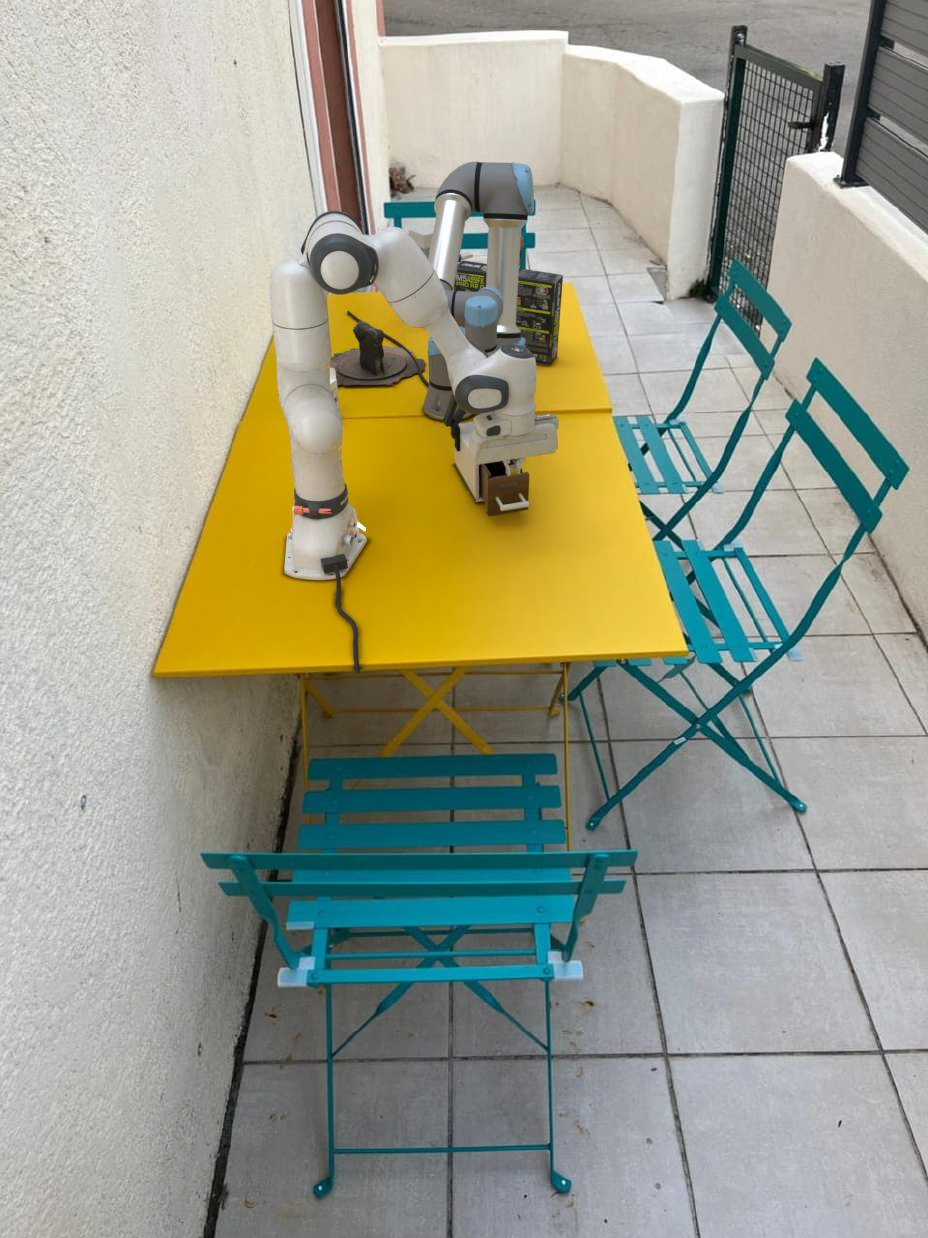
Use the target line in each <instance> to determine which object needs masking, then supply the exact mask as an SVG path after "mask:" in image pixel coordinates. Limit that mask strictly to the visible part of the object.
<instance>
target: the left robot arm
mask: <svg viewBox="0 0 928 1238" xmlns="http://www.w3.org/2000/svg"><path fill="white" fill-rule="evenodd" d="M300 253H301V256H299V257H294V258H291V257H290V258H287V259H283V260H281V261H280V262H278V263H277V264H276V265H275V266H274V267H273V269H272V270H271V274H270V283H269V284H270V285H269V305H270V306H269V307H270V308H269V309H270V317H271V325H272V327H271V328H272V333H273V340H274V341H273V342H274V348H275V349H274V350H275V356H276V377H277V378H276V380H277V393H278V401H279V406H280V407H281V410H282V413H283V416H284V418H285V421H286V425H287V429H288V433H289V440H290V441H289V442H290V455H291V457H290V463H291V471H292V477H293V483H294V489H293V504H294V505H293V506H292V508H291V510H292V523H291V524H292V526H291V527H290V530H289V532H288V533H287V535H286V543H285V555H284V574H285V575H287V576H289V577H292V578H295V579H300V580H310V581H330V580H335V583H336V585H335V586H336V589H335V590H336V592H335V593H336V594H335V602H334V603H335V604H334V605H335V608H336V610H337V612H338V613H339V615H340V616H341V617H342V618H344V619H345V620H346V621H347V622H348V623H349V624H350V626H351V629H352V634H353V635H352V656H353V667H354V673H355V674H360V672H361V668H360V660H359V658H360V657H359V630H358V628H359V627H358V625H357V623H356V622H355V620H354V619H353V618H352V617H351V616H350V615H349V614H348V613H347V612H345V611H344V610H343V607H342V606H341V598H342V597H341V596H342V580H341V579H342V578H343V577H345V576H346V575H347V573H348V572H349V571H350V569H351V567H352V566H353V564H354V563H355V561H356V559H357V558H358V557H359V556H360V553H361V552H362V551H363V549H364V548H365V546H366V544H367V542H368V539H367V536H366V535H365V534H363V533H361V532H360V529H361V530H363V531H364V532H366V530H367V529H366V527H365V526H363V524H361V523H360V522H359V520H358V514H357V510H356V508H354V506H352V505H351V503H350V502H349V489H348V486H347V483H346V482H345V474H344V464H343V463H344V462H343V441H344V440H343V439H344V437H343V436H344V435H343V434H344V423H343V416H342V412H341V409H340V410H339V408H338V406H337V404H336V402H335V399H334V397H333V394H332V391H331V387H330V360H331V358H332V357H333V353H332V341H331V331H330V330H331V329H330V319H329V308H328V294H332V295H338V296H339V295H348V294H351V293H353V292H355V291H357V290H361V289H363V288H367V287H370V286H372V285H373V284H375V285H376V287H377V288H378V290H379V291H380V293H381V294H382V296H383V297H384V299H385V301H386V302H387V304H388V306H390V308H391V309H392V310H393V313H395V314H396V315H397V317H398V318H399V319H400V320H401V321H402V322H403V323H404V324H405V325H406V326H407V327H409V328H413V329H424V330H425V331H426V333H427V334H428V336H429V337H431V338H432V340H433V341H434V343H435V344H436V346H437V347H438V349H439V350H440V352H441V353H442V355H443V356H444V359H445V368H446V373H447V376H448V379H449V381H450V383H451V387H452V390H453V394H454V397H455V400H456V403H457V404H458V406H459V407H460V408H461V409H462V410H463V411H465V412H467V413H470V414H473V415H475V417H473V422H474V425H475V428H474V429H473V431H472V433H471V436H470V443H469V456H470V459H471V460H472V462H473V463H474V464H476V465H479V464H486V463H492V462H499V461H502V462H503V463H504V465H505V466H506V474H507V475H508V476H510V475H516V474H520V468H521V469H522V467H523V465H524V464H525V462H526V458H530V457H537V456H544V455H551V454H554V453H556V452H557V450H558V449H559V437H558V431H557V430H558V429H559V425H560V420H559V417H558V416H557V415H555V414H553V413H547V414H538V415H537V414H536V401H535V394H536V392H537V382H538V379H537V377H538V375H537V374H538V373H537V371H538V370H537V364H536V361H535V357H534V355H533V354H532V353H531V352H530V351H529V350H528V349H527V348H524V347H522V346H519V345H515V344H508V345H503V346H501V347H500V349H499V350H498V351H497V352H496V353H494V354H493V355H491V356H490V357H489V356H488V355H487V353H486V352H485V351H484V350H483V349H481V348H480V347H479V346H477V345H475V344H474V343H472V342H471V341H470V340H469V339H467V337H466V336H465V334H464V333H463V331H462V330H461V328H460V327H459V325H458V324H457V322H456V320H455V319H454V317H453V316H452V314H451V313H450V310H449V308H448V298H447V295H446V292H445V290H444V287H443V285H442V283H441V281H440V278H439V277H438V275H437V273H436V271H435V269H434V268H433V266H432V265H431V263H430V262H429V260H428V258H427V257H426V256H425V254H424V253H423V251H422V250H421V249H420V247H419V246H418V245H417V244H416V243H415V241H414V240H413V239H412V238H411V237H410V236H409V233H408V232H407V231H406V230H405V229H403V228H401V227H398V226H388V227H384V228H382V229H380V230H378V231H377V232H375V233H372V234H364V233H363V230H362V228H361V226H360V224H359V223H358V222H357V221H356V219H354V217H352V215H349V214H348V213H347V212H343V211H341V210H327V211H325V212H322V213H321V214H319V216H317V217H316V218H315V219H314V220H313V222H312V223H311V225H310V227H309V229H308V231H307V233H306V236H305V238H304V240H303V243H302V244H301V247H300ZM512 459H518V460H517V462H516V464H515V465H508V464H507V463H510V460H512Z"/></svg>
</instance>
